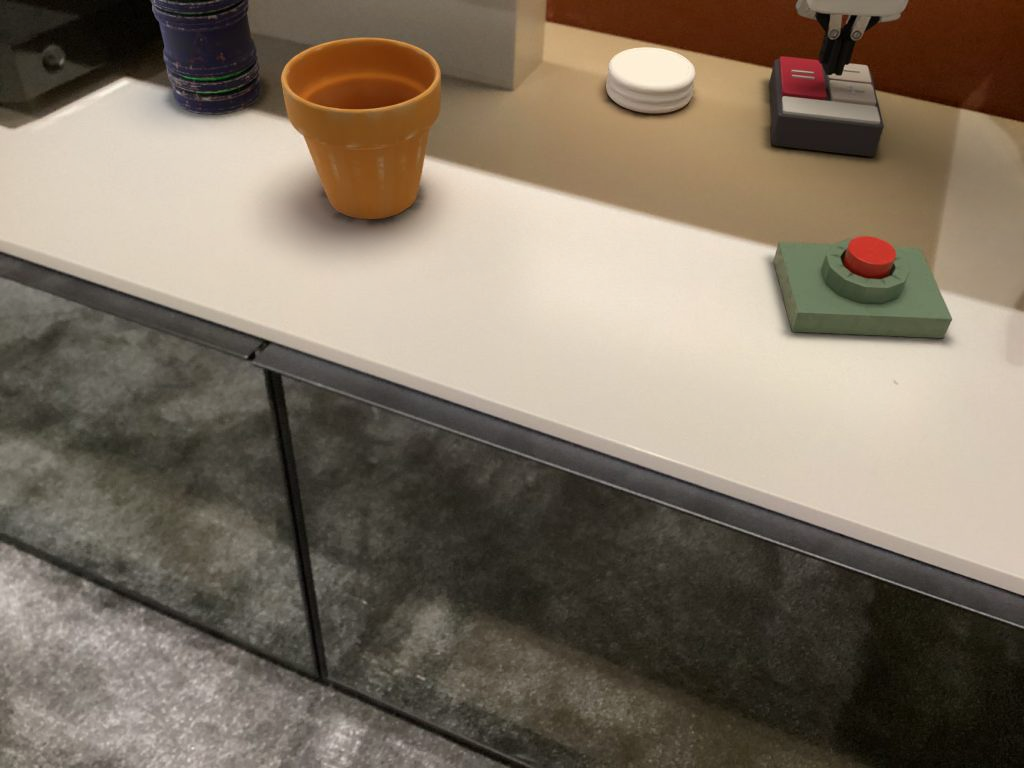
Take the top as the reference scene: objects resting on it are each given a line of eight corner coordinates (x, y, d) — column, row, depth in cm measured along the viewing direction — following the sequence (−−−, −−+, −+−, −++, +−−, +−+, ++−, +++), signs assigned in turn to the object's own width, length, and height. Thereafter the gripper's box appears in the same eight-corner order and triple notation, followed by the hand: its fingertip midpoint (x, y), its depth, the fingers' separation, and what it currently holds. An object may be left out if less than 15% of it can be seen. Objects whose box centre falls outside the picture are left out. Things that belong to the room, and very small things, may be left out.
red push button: (883, 253, 85) (889, 236, 84) (895, 281, 82) (901, 265, 81) (838, 251, 85) (843, 235, 84) (848, 279, 82) (854, 263, 81)
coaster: (696, 117, 108) (702, 88, 106) (608, 114, 108) (611, 85, 106) (686, 74, 115) (690, 46, 113) (603, 72, 115) (606, 44, 113)
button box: (912, 266, 90) (927, 231, 87) (943, 338, 82) (960, 302, 80) (773, 260, 90) (783, 225, 87) (792, 331, 83) (803, 295, 80)
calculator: (872, 62, 111) (887, 120, 100) (861, 97, 114) (875, 157, 103) (775, 51, 112) (779, 108, 101) (767, 86, 115) (771, 145, 104)
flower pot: (269, 200, 94) (246, 75, 85) (369, 141, 102) (359, 22, 93) (375, 255, 88) (363, 128, 79) (472, 189, 97) (472, 67, 87)
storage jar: (252, 66, 114) (230, -65, 103) (272, 105, 107) (251, -31, 97) (166, 80, 111) (133, -54, 100) (181, 121, 104) (149, -17, 94)
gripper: (811, -101, 89) (767, 83, 102) (972, -94, 89) (908, 89, 102) (797, -128, 95) (757, 50, 107) (949, -121, 95) (891, 57, 107)
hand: (831, 69), depth 105 cm, fingers closed
